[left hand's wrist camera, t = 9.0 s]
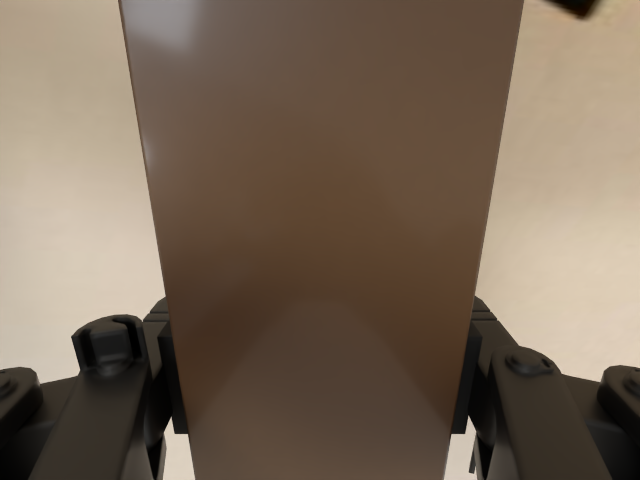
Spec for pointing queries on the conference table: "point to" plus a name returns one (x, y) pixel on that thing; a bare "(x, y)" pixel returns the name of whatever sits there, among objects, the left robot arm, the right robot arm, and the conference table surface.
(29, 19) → the conference table surface
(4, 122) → the conference table surface
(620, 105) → the conference table surface
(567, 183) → the conference table surface
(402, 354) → the beam
